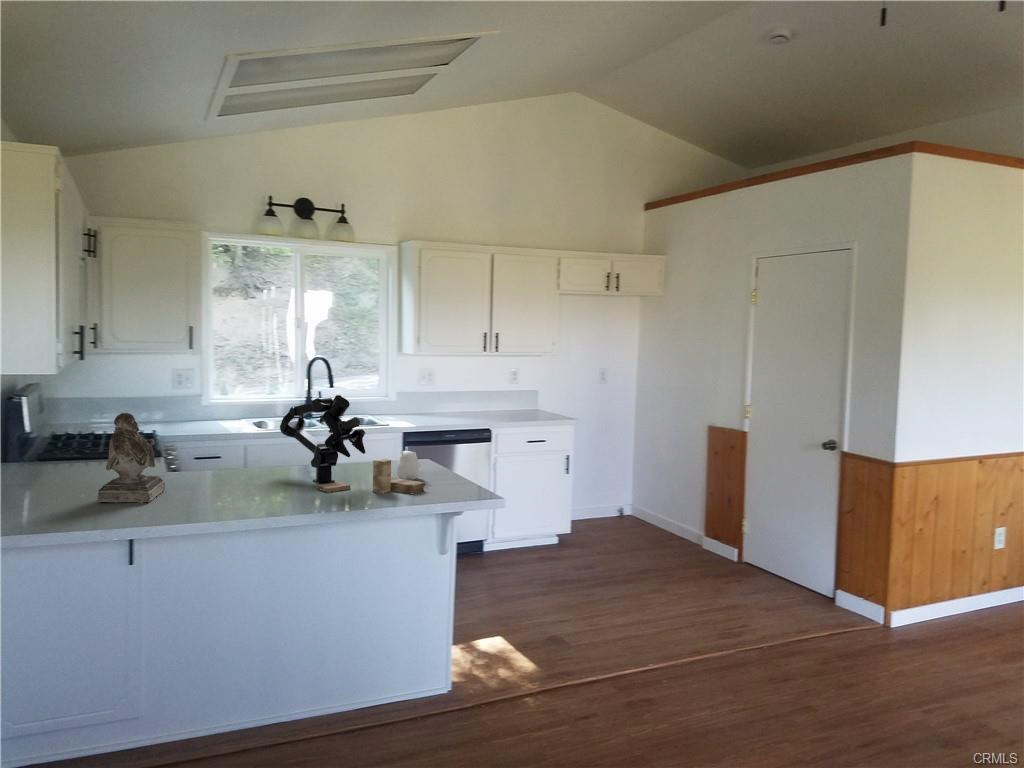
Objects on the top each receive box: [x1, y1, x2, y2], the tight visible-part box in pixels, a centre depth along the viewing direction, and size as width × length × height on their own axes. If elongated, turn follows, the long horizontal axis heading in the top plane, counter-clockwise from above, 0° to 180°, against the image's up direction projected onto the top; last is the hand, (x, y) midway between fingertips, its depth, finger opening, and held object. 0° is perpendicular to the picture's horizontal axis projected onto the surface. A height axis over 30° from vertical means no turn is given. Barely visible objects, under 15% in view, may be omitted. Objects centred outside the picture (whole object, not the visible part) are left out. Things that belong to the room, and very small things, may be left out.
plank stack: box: [391, 476, 426, 494], centre depth 287 cm, size 17×7×3 cm, turn 62°
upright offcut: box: [372, 458, 392, 494], centre depth 283 cm, size 5×4×12 cm
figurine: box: [396, 450, 422, 481], centre depth 305 cm, size 10×10×12 cm
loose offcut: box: [316, 481, 351, 493], centre depth 285 cm, size 7×10×2 cm
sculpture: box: [97, 412, 166, 503], centre depth 262 cm, size 19×17×30 cm
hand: (357, 454), depth 288 cm, fingers open, 9 cm apart
